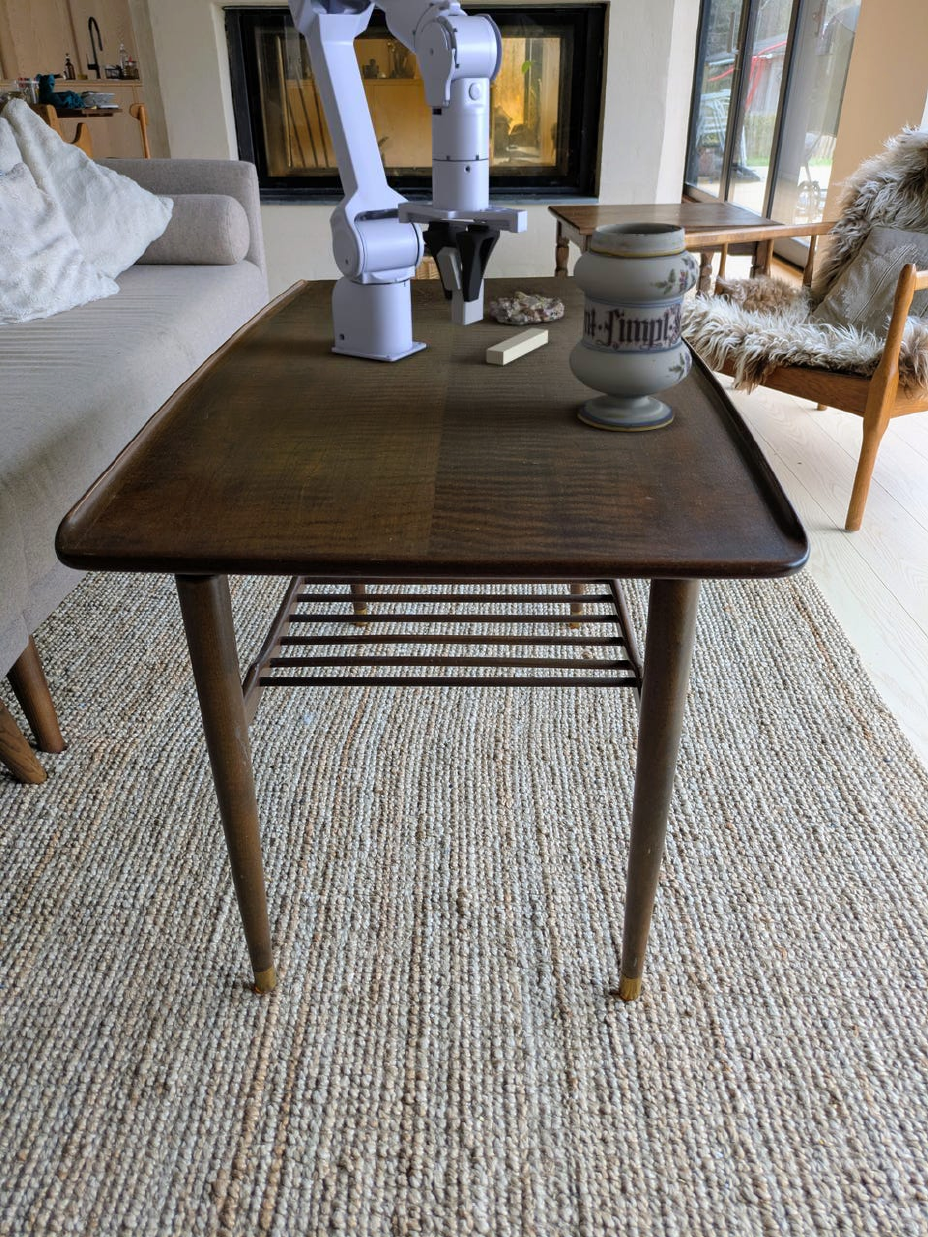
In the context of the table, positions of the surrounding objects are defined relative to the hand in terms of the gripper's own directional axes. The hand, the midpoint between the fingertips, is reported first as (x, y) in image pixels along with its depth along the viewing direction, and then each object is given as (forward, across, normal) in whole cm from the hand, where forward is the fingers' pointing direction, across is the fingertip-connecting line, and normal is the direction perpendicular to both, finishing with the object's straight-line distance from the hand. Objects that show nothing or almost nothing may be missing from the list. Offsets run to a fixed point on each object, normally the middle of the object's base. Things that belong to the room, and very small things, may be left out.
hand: (461, 299), depth 98 cm
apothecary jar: (+9, +20, -1) cm, 22 cm away
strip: (+9, -1, +15) cm, 18 cm away
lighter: (+3, 0, 0) cm, 3 cm away
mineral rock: (+10, -8, +31) cm, 33 cm away
